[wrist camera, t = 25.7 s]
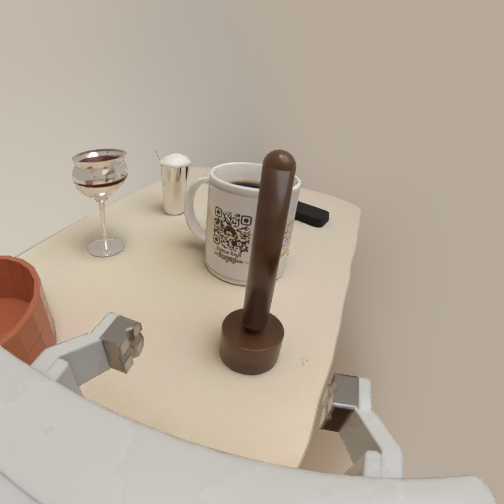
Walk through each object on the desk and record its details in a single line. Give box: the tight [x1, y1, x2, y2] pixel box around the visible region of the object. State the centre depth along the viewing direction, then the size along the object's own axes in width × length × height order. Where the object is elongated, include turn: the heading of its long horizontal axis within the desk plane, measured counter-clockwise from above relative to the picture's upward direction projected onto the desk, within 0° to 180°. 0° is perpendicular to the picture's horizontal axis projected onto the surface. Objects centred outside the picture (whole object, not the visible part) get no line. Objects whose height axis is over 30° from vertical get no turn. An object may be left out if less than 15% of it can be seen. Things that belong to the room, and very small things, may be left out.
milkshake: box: [159, 153, 191, 215], centre depth 47 cm, size 5×5×10 cm
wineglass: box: [72, 149, 127, 257], centre depth 35 cm, size 7×7×12 cm
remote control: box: [295, 201, 329, 227], centre depth 55 cm, size 5×2×15 cm
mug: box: [184, 162, 301, 286], centre depth 37 cm, size 10×12×11 cm
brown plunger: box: [220, 150, 296, 375], centre depth 22 cm, size 5×5×17 cm
